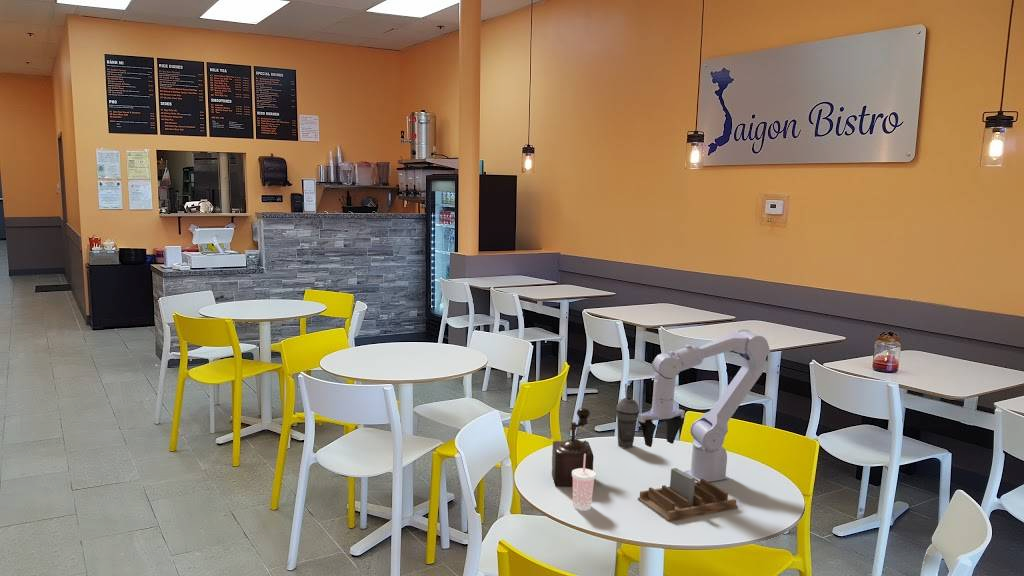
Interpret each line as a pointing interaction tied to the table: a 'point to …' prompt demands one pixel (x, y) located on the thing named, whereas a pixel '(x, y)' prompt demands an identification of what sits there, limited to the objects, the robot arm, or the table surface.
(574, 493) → the beverage cup
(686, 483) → the grey upright slab
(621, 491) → the table surface
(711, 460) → the robot arm
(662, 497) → the dish rack
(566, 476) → the coffee grinder
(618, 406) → the beverage cup
